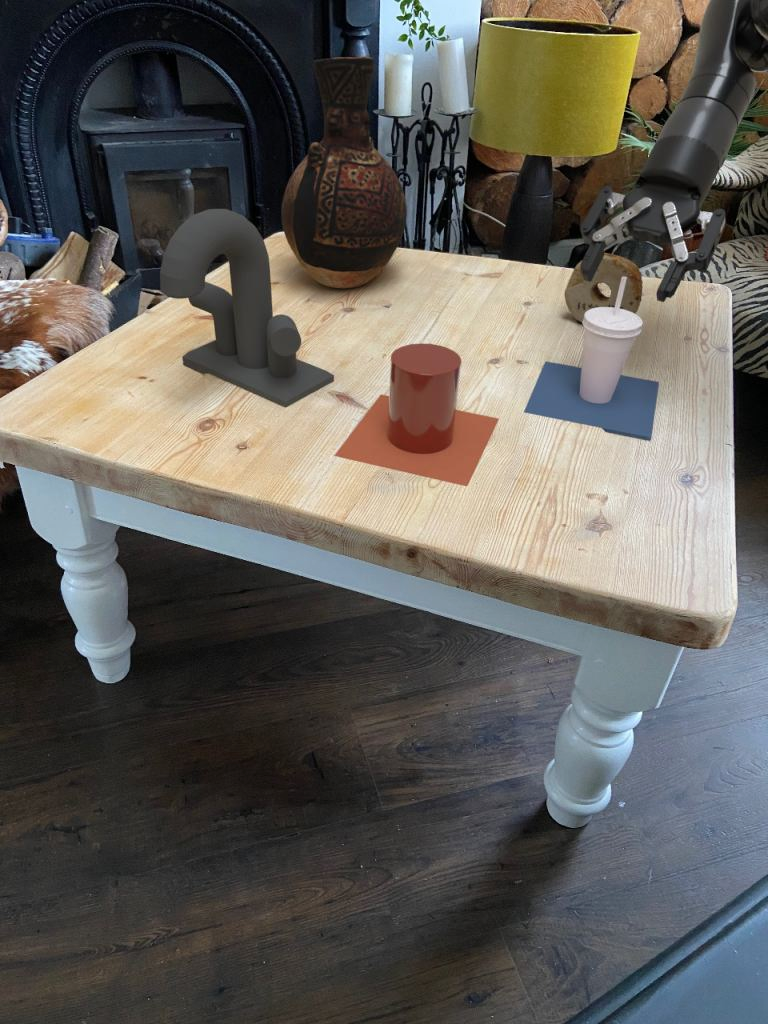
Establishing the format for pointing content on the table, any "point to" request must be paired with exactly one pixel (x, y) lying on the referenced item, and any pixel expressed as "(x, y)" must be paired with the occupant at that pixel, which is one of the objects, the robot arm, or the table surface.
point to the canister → (423, 397)
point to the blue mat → (620, 415)
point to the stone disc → (609, 272)
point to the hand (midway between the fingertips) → (622, 287)
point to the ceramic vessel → (344, 186)
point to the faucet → (238, 309)
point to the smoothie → (606, 348)
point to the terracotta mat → (444, 465)
